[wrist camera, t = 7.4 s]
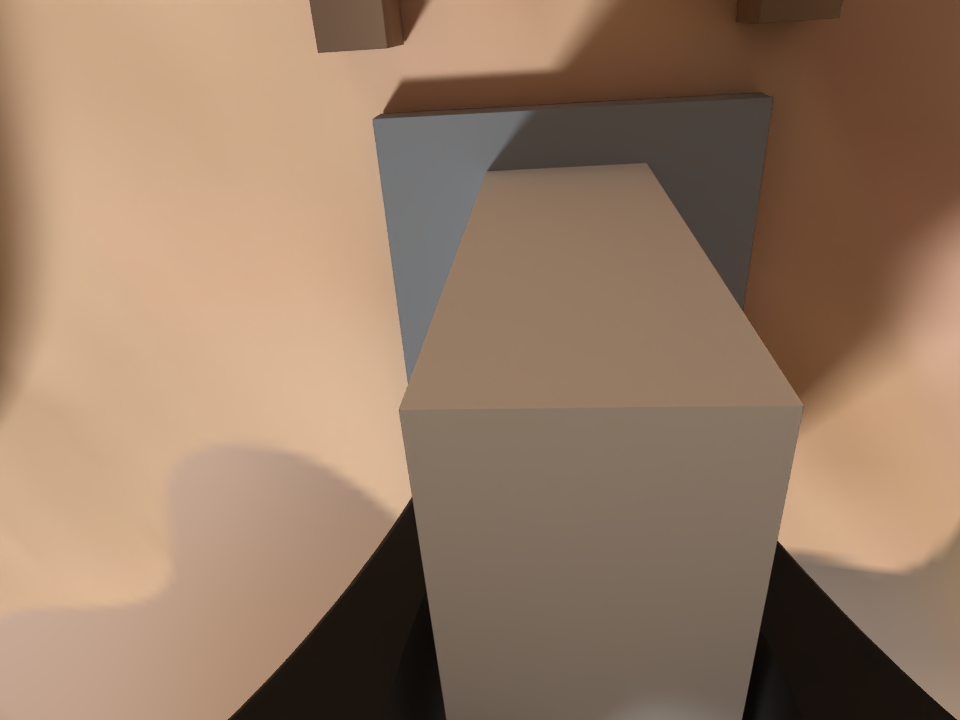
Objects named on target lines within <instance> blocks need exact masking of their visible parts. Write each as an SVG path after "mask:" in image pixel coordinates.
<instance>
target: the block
mask: <svg viewBox="0 0 960 720" xmlns="http://www.w3.org/2000/svg"><path fill="white" fill-rule="evenodd" d="M803 407H804V405H803V403H802V402H801V400H800V399H799V397H798V396H797V394H796V393H795V391H794V390H793V388H792V386H791V385H790V383H789V382H788V380H787V379H786V377H785V376H784V374H783V373H782V371H781V369H780V368H779V366H778V365H777V363H776V362H775V360H774V359H773V357H772V356H771V354H770V353H769V351H768V349H767V348H766V346H765V345H764V343H763V342H762V340H761V339H760V337H759V336H758V334H757V332H756V331H755V329H754V328H753V326H752V325H751V323H750V322H749V320H748V319H747V317H746V316H745V314H744V312H743V311H742V309H741V308H740V306H739V305H738V303H737V302H736V300H735V299H734V297H733V296H732V294H731V292H730V291H729V289H728V288H727V286H726V285H725V283H724V282H723V280H722V279H721V277H720V275H719V274H718V272H717V271H716V269H715V268H714V266H713V265H712V263H711V262H710V260H709V259H708V257H707V255H706V254H705V252H704V251H703V249H702V248H701V246H700V245H699V243H698V242H697V240H696V238H695V237H694V235H693V234H692V232H691V231H690V229H689V228H688V226H687V225H686V223H685V222H684V220H683V218H682V217H681V215H680V214H679V212H678V211H677V209H676V208H675V206H674V205H673V203H672V202H671V200H670V198H669V197H668V195H667V194H666V192H665V191H664V189H663V188H662V186H661V185H660V183H659V181H658V180H657V178H656V177H655V175H654V174H653V172H652V171H651V169H650V168H649V166H648V165H647V163H637V164H618V165H599V166H580V167H560V168H541V169H522V170H503V171H486V174H485V177H484V179H483V182H482V185H481V188H480V190H479V193H478V196H477V198H476V201H475V204H474V207H473V209H472V212H471V215H470V217H469V220H468V223H467V226H466V228H465V231H464V234H463V237H462V239H461V242H460V245H459V247H458V250H457V253H456V256H455V258H454V261H453V264H452V266H451V269H450V272H449V275H448V277H447V280H446V283H445V285H444V288H443V291H442V294H441V296H440V299H439V302H438V305H437V307H436V310H435V313H434V315H433V318H432V321H431V324H430V326H429V329H428V332H427V334H426V337H425V340H424V343H423V345H422V348H421V351H420V353H419V356H418V359H417V362H416V364H415V367H414V370H413V372H412V375H411V378H410V381H409V383H408V386H407V389H406V392H405V394H404V397H403V400H402V402H401V405H400V408H399V414H400V421H401V427H402V434H403V440H404V447H405V453H406V460H407V466H408V473H409V479H410V486H411V492H412V499H413V505H414V512H415V518H416V525H417V531H418V538H419V544H420V551H421V557H422V564H423V570H424V577H425V583H426V590H427V596H428V603H429V609H430V616H431V622H432V629H433V635H434V642H435V648H436V655H437V661H438V668H439V674H440V681H441V687H442V694H443V700H444V707H445V713H446V720H742V717H743V712H744V707H745V702H746V697H747V692H748V686H749V681H750V676H751V671H752V666H753V661H754V656H755V651H756V646H757V641H758V636H759V631H760V626H761V621H762V615H763V610H764V605H765V600H766V595H767V590H768V585H769V580H770V575H771V570H772V565H773V560H774V555H775V550H776V544H777V539H778V534H779V529H780V524H781V519H782V514H783V509H784V504H785V499H786V494H787V489H788V484H789V479H790V473H791V468H792V463H793V458H794V453H795V448H796V443H797V438H798V433H799V428H800V423H801V418H802V413H803Z"/></svg>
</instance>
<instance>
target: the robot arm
mask: <svg viewBox="0 0 960 720" xmlns="http://www.w3.org/2000/svg"><path fill="white" fill-rule="evenodd" d="M228 720H446V713H445V707H444V700H443V694H442V687H441V681H440V674H439V668H438V661H437V655H436V648H435V642H434V635H433V629H432V622H431V616H430V609H429V603H428V596H427V590H426V583H425V577H424V570H423V564H422V557H421V551H420V544H419V538H418V531H417V525H416V518H415V512H414V505H413V499H412V498H411V499H410V501H409V503H408V504H407V506H406V507H405V509H404V510H403V512H402V513H401V515H400V516H399V518H398V519H397V521H396V522H395V524H394V525H393V527H392V528H391V530H390V531H389V532H388V534H387V535H386V536H385V538H384V539H383V541H382V542H381V544H380V545H379V547H378V548H377V549H376V551H375V552H374V553H373V554H372V556H371V557H370V559H369V560H368V561H367V562H366V564H365V565H364V566H363V568H362V569H361V570H360V572H359V573H358V575H357V576H356V577H355V578H354V580H353V581H352V582H351V584H350V585H349V586H348V588H347V589H346V590H345V591H344V593H343V594H342V595H341V596H340V598H339V599H338V600H337V601H336V602H335V604H334V605H333V606H332V607H331V609H330V610H329V611H328V612H327V613H326V614H325V615H324V617H323V618H322V619H321V620H320V621H319V623H318V624H317V625H316V626H315V627H314V629H313V630H312V631H311V632H310V633H309V635H308V636H307V637H306V638H305V639H304V641H303V642H302V643H301V644H300V645H299V646H298V647H297V648H296V649H295V651H294V652H293V653H292V654H291V655H290V656H289V657H288V658H287V659H286V661H285V662H284V663H283V664H282V665H281V666H280V667H279V668H278V669H277V670H276V671H275V672H274V674H273V675H272V676H271V677H270V678H269V679H268V680H267V681H266V682H265V683H264V684H263V685H262V686H261V687H260V688H259V689H258V690H257V691H256V692H255V693H254V694H253V695H252V696H251V697H250V698H249V699H248V700H247V701H246V702H245V703H244V704H243V705H242V706H241V708H240V709H238V710H237V712H235V713H234V714H233V715H232V716H231V717H230V718H229V719H228ZM742 720H957V719H955V718H954V717H953V716H952V715H951V714H950V713H948V712H947V711H946V710H945V709H944V708H943V707H942V706H940V705H939V704H938V703H937V702H936V701H935V700H934V699H933V698H932V697H930V696H929V695H928V694H927V693H926V692H925V691H924V690H923V689H922V688H921V687H920V686H918V685H917V684H916V683H915V682H914V681H913V680H912V679H911V678H910V677H909V676H908V675H907V674H906V673H905V672H903V671H902V670H901V669H900V668H899V667H898V666H897V665H896V664H895V663H894V662H893V661H892V660H891V659H890V658H889V657H888V656H887V655H886V654H885V653H884V652H883V651H882V650H881V649H880V648H879V647H878V646H877V645H876V644H874V643H873V642H872V640H870V639H869V638H868V637H867V636H866V635H865V634H864V633H863V632H862V631H861V630H860V629H859V628H858V627H857V626H856V625H855V623H854V622H853V621H852V620H851V619H850V618H848V616H847V615H846V614H845V613H844V612H843V611H841V609H840V608H839V607H838V606H837V605H836V604H835V603H834V602H833V601H832V600H831V599H830V597H829V596H828V595H827V594H826V593H825V592H824V591H823V590H822V589H821V588H820V587H819V586H818V585H817V584H816V583H815V581H814V580H813V579H812V578H811V577H810V576H809V575H808V574H807V573H806V572H805V571H804V570H803V569H802V567H800V565H799V564H798V563H797V562H796V561H795V560H794V559H793V557H792V556H791V555H790V554H789V553H788V552H787V551H786V550H785V548H784V547H783V546H782V545H781V544H780V543H779V542H778V540H777V544H776V550H775V555H774V560H773V565H772V570H771V575H770V580H769V585H768V590H767V595H766V600H765V605H764V610H763V615H762V621H761V626H760V631H759V636H758V641H757V646H756V651H755V656H754V661H753V666H752V671H751V676H750V681H749V686H748V692H747V697H746V702H745V707H744V712H743V717H742Z"/></svg>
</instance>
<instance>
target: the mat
mask: <svg viewBox="0 0 960 720" xmlns="http://www.w3.org/2000/svg"><path fill="white" fill-rule="evenodd" d="M772 103H773V97H771V96H769V95H766V94H763V93H746V94H728V95H710V96H692V97H674V98H656V99H638V100H620V101H602V102H584V103H566V104H548V105H530V106H512V107H494V108H476V109H458V110H440V111H422V112H403V113H385V114H380V115H378V116H377V117H375V118H374V119H373V127H374V134H375V141H376V149H377V156H378V164H379V171H380V179H381V186H382V194H383V201H384V209H385V216H386V223H387V231H388V238H389V246H390V253H391V261H392V268H393V276H394V283H395V291H396V298H397V306H398V313H399V320H400V328H401V335H402V343H403V350H404V358H405V365H406V373H407V380H408V383H409V381H410V378H411V375H412V372H413V370H414V367H415V364H416V362H417V359H418V356H419V353H420V351H421V348H422V345H423V343H424V340H425V337H426V334H427V332H428V329H429V326H430V324H431V321H432V318H433V315H434V313H435V310H436V307H437V305H438V302H439V299H440V296H441V294H442V291H443V288H444V285H445V283H446V280H447V277H448V275H449V272H450V269H451V266H452V264H453V261H454V258H455V256H456V253H457V250H458V247H459V245H460V242H461V239H462V237H463V234H464V231H465V228H466V226H467V223H468V220H469V217H470V215H471V212H472V209H473V207H474V204H475V201H476V198H477V196H478V193H479V190H480V188H481V185H482V182H483V179H484V177H485V174H486V171H503V170H522V169H541V168H560V167H580V166H599V165H618V164H637V163H647V165H648V166H649V168H650V169H651V171H652V172H653V174H654V175H655V177H656V178H657V180H658V181H659V183H660V185H661V186H662V188H663V189H664V191H665V192H666V194H667V195H668V197H669V198H670V200H671V202H672V203H673V205H674V206H675V208H676V209H677V211H678V212H679V214H680V215H681V217H682V218H683V220H684V222H685V223H686V225H687V226H688V228H689V229H690V231H691V232H692V234H693V235H694V237H695V238H696V240H697V242H698V243H699V245H700V246H701V248H702V249H703V251H704V252H705V254H706V255H707V257H708V259H709V260H710V262H711V263H712V265H713V266H714V268H715V269H716V271H717V272H718V274H719V275H720V277H721V279H722V280H723V282H724V283H725V285H726V286H727V288H728V289H729V291H730V292H731V294H732V296H733V297H734V299H735V300H736V302H737V303H738V305H739V306H740V308H741V309H742V311H743V307H744V300H745V293H746V286H747V279H748V272H749V265H750V258H751V251H752V244H753V237H754V230H755V223H756V216H757V208H758V201H759V194H760V187H761V180H762V173H763V166H764V159H765V152H766V145H767V138H768V131H769V124H770V117H771V110H772Z"/></svg>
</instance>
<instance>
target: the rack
mask: <svg viewBox="0 0 960 720" xmlns="http://www.w3.org/2000/svg"><path fill="white" fill-rule="evenodd" d="M309 1H310V7H311V13H312V19H313V25H314V31H315V37H316V43H317V49H318V53H323V52H338V51H353V50H368V49H383V48H390V47H394V46H398V45H402V44H404V42H403V33H402V23H401V14H400V5H399V0H309ZM841 6H842V0H738V5H737V15H736V22H745V23H773V22H788V21H803V20H818V19H833V18H839V17H840V12H841Z"/></svg>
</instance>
